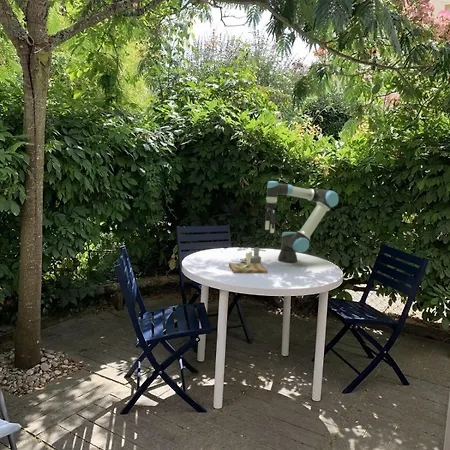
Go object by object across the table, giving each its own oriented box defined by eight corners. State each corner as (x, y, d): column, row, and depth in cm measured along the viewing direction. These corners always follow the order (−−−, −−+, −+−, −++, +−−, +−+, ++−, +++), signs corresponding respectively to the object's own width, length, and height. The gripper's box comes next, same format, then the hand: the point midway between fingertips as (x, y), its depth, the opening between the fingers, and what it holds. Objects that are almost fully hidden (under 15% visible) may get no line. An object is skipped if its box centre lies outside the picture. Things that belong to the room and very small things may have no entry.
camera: (262, 249, 315) (243, 249, 311) (261, 264, 317) (242, 264, 313) (259, 246, 323) (240, 247, 320) (258, 261, 325) (239, 261, 322)
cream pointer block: (248, 264, 306) (249, 251, 305) (251, 264, 305) (252, 251, 304) (241, 268, 295) (242, 254, 293) (245, 268, 294) (246, 255, 292)
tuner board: (260, 266, 311) (260, 263, 311) (267, 273, 293) (267, 270, 293) (228, 265, 307) (228, 262, 307) (233, 273, 289) (234, 270, 288)
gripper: (262, 200, 315) (260, 228, 319) (271, 204, 291) (269, 234, 295) (271, 200, 317) (269, 228, 320) (281, 204, 293) (279, 234, 296)
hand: (269, 231), depth 307 cm, fingers open, 13 cm apart
